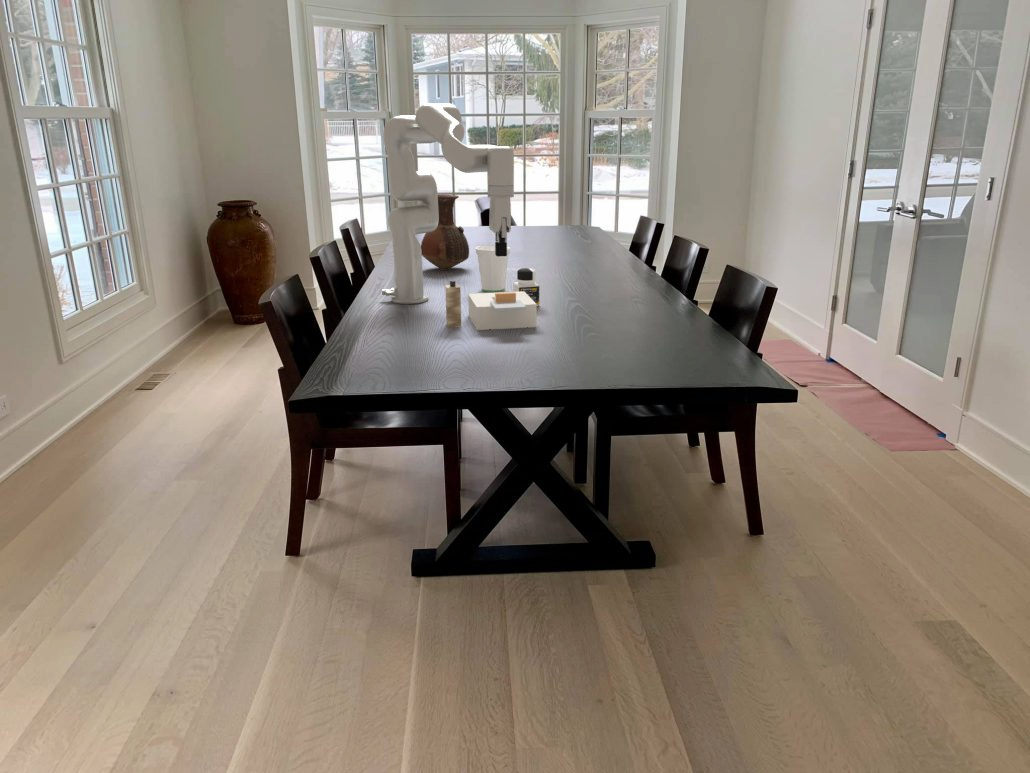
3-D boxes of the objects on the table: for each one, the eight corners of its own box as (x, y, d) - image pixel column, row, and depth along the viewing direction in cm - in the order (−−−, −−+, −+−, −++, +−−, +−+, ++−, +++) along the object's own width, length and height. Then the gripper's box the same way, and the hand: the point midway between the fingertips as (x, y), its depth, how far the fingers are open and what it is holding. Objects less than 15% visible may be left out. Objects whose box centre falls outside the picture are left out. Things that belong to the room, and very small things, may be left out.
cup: (469, 291, 272) (469, 248, 267) (487, 284, 282) (486, 244, 277) (500, 294, 266) (499, 251, 261) (516, 288, 277) (516, 246, 272)
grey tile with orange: (495, 310, 215) (495, 300, 214) (490, 303, 223) (490, 293, 222) (526, 309, 216) (526, 298, 215) (519, 302, 225) (519, 291, 224)
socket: (477, 330, 222) (476, 307, 220) (468, 315, 238) (468, 293, 236) (536, 327, 225) (536, 304, 223) (524, 312, 242) (524, 291, 239)
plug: (448, 327, 225) (446, 282, 220) (446, 324, 229) (445, 280, 224) (461, 326, 226) (460, 282, 221) (459, 323, 229) (458, 279, 225)
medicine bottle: (518, 307, 248) (518, 271, 244) (513, 302, 255) (513, 267, 251) (539, 306, 250) (539, 270, 246) (533, 301, 257) (533, 266, 253)
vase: (470, 275, 300) (468, 198, 290) (420, 275, 298) (416, 198, 288) (468, 263, 323) (467, 192, 313) (422, 264, 322) (419, 192, 311)
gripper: (483, 189, 221) (484, 252, 227) (492, 194, 207) (492, 260, 213) (508, 189, 222) (508, 251, 228) (518, 193, 208) (518, 259, 214)
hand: (501, 255), depth 221 cm, fingers closed
